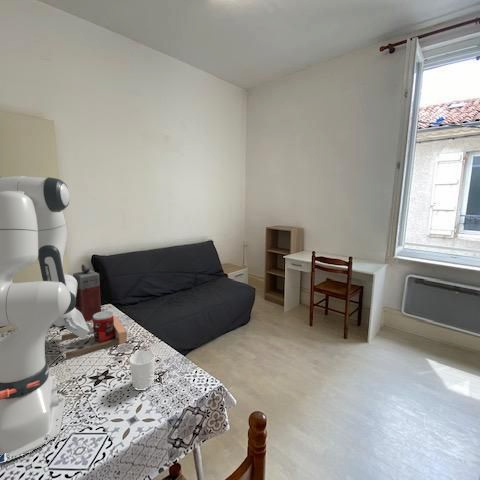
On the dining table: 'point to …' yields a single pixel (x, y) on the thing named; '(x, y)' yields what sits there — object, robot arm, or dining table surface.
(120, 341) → the end stop
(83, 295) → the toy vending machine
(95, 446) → the dining table surface
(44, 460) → the dining table surface
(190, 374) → the dining table surface
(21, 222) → the robot arm
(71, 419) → the dining table surface
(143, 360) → the white cup
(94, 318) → the canned food
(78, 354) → the guide rails
